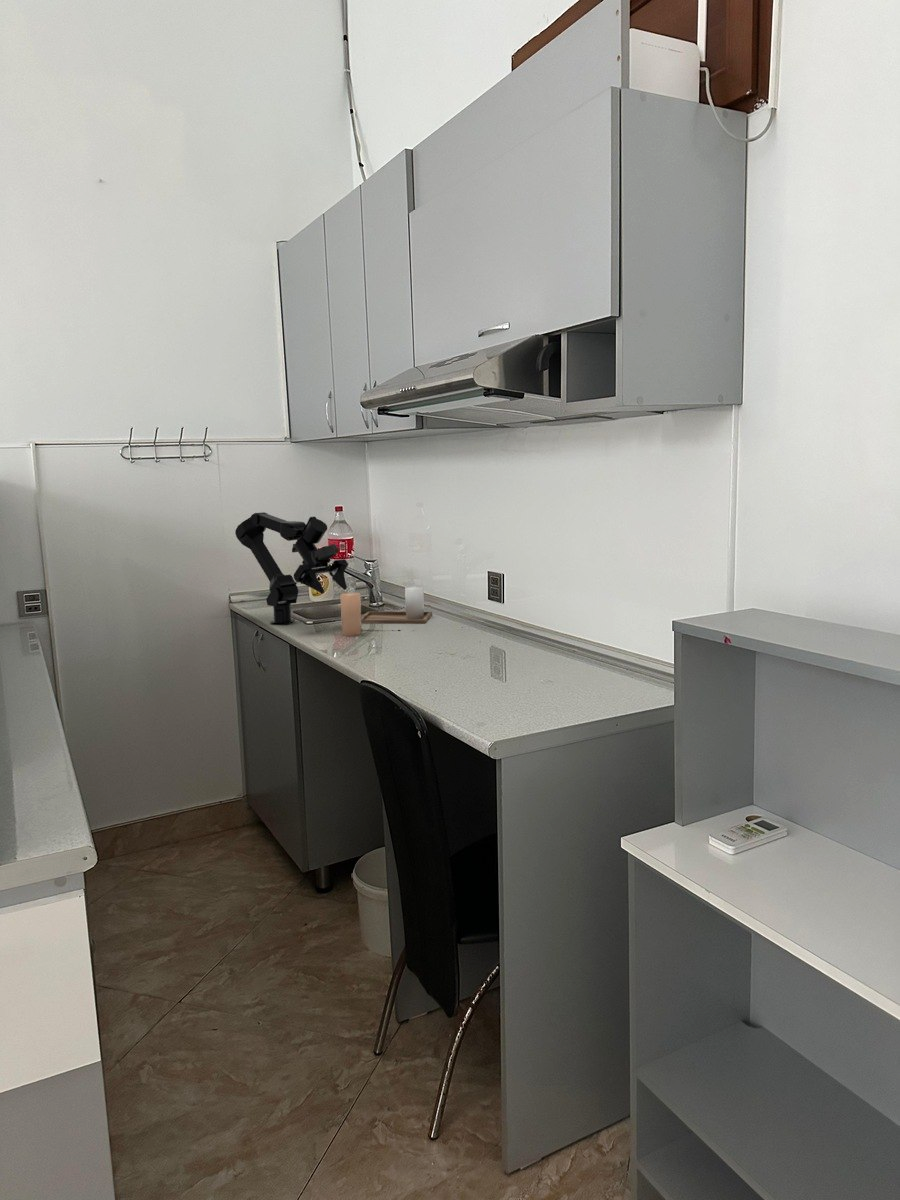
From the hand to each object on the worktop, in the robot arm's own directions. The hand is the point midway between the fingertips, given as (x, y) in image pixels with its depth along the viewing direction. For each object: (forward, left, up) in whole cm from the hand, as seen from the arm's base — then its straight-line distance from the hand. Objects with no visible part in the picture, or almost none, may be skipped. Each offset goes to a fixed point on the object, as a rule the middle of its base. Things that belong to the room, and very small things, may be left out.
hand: (334, 590), depth 271 cm
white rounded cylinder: (-19, +22, -12) cm, 31 cm away
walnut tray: (-16, +16, -13) cm, 26 cm away
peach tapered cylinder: (+4, +6, -13) cm, 15 cm away
